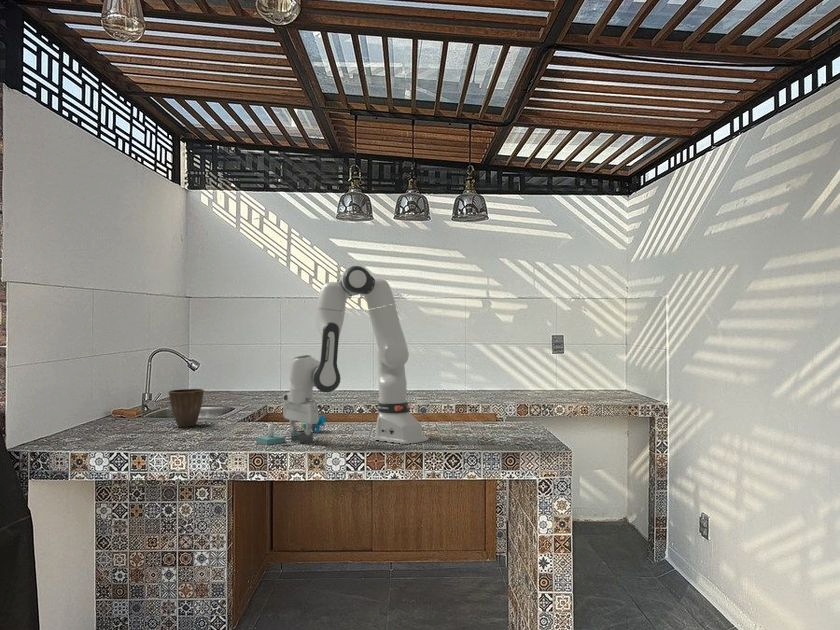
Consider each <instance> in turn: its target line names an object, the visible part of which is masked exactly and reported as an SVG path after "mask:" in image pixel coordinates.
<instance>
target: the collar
mask: <svg viewBox="0 0 840 630" xmlns="http://www.w3.org/2000/svg"><path fill="white" fill-rule="evenodd" d="M304 430H305V429H300V430H297V431H291V432H290V435H291V436H290V438H291V439H290V442H291V443H293V442H294V443H295V444H299V445H302V444H303V445H304V444H309V442H310V443H313V442H314V431H312V430H310V435H305V434H304Z"/></svg>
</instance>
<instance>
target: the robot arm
mask: <svg viewBox="0 0 840 630" xmlns="http://www.w3.org/2000/svg"><path fill="white" fill-rule="evenodd" d="M359 295H362V296H363V298H364V299H365V302H366V304H367V308H368V314H369V319H370V322H371V327H372V330H373V333H374V336H375V341H376V344H377V347H378V348H377V351H376V352H377V353H376V354H377V355H376V358H377V360H376V361H377V374H378V402H377V412H378V416H377V418H376V425H375V426H376V428H375V435H374V437H373V440H374V441H376V440H379V441H378V442H384V441H387V442H386V443H391V442H394V443H393V444H398V443H400V445H410V443H411V444H417V443H423V442H426V441H429V437H428V436H426V435H423V428H422V424H421V422H420V421H418V420H417V419H416V417H415V416H414V415H413V414H412V413H411V412H410V411H411V410H410V409H412V405H411V404H409V403H408V400H407V399H408V397H407V396H408V395H407V394H408V393H407V390H408V389H407V385H408V384H407V377H406V367H405V365H406V363H407V362H408V359H409V356H410V355H409V353H410V352H409V349H408V345H407V342H406V339H405V336H404V335H405V334H404V331H403V328H402V326H401V323H400V318H399V314H398V313H399V312H398V309H397V305H396V301H395V298H394V294H393V291H392V289H391V287H390V283H389V282H388V281H387V280H386V279H381V278H376V279H375V278H374V277H373V276H372V275H371V274H370V272H369V271H368V270H367V269H366V268H365V267H362V266H361V265H353V266H349V267H348V268H346V269H345V270H344V271H343V273H341V276H340V277H339V278H338V280H337V281H330V282H329V281H328V282H326V283H324V284H322V286H321V288H320V291H319V294H318V298H317V306H316V315H315V316H316V320H315V321H316V326H317V329H318V332H319V334H320V338H321V347H320V348H321V349H320V358H319V359H320V360H318V359H316V358H314V357H313V356H312V355H310V354H309V355H308V354H306V355H305V354H303V355H299V356H295V357H294V358H293V359H292V360H291V362H290V367H289V368H290V369H289V381H290V386H289V391H288V392H287V393H284V394H283V395H282V400H283V403H282V416H283V418H284V419H285V420H289V424H290V425H289V426H290V431H291V432H292V431H298V427H297V425H296V422H298V423H302V424H306V430H305V429H303V430H304V434H305V435H310V431H312V429H311V428H312V424H317V423H318V421H319V418H320V415H319V407H318V404H317V402H316V401H315V399H313V395H314V394H313V392H314V388H316V389H317V390H318V391H320V392H322V393H331V392H333V391H335V390H336V389H337V388H338V387H339V386H340V383H341V374H340V371H339V367H338V355H339V354H338V353H339V351H338V350H339V340H340V336H341V332H342V328H343V326H344V320H345V316H346V315H345V313H346V304H347V299H348V298H349V297H353V296H354V297H355V296H359Z"/></svg>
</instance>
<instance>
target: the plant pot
mask: <svg viewBox="0 0 840 630" xmlns="http://www.w3.org/2000/svg"><path fill="white" fill-rule="evenodd" d="M204 392H205V390H204V389H203V388H184V389H183V388H182V389H181V388H180V389H173V390H169V391H168V395H169V402H170V405H171V409H172V410H171V411H172V414H173V416H174V419H175V422H176V424H177V427H178V426H179V427H178V428H189V427H188V426H192V427H195V426H196V424H197V423H198V419H199V418H200V417H199V416H200V413H201V410H202V406H203V405H202V404H203V398H204ZM194 425H195V426H194Z"/></svg>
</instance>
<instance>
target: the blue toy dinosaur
mask: <svg viewBox="0 0 840 630" xmlns="http://www.w3.org/2000/svg"><path fill="white" fill-rule="evenodd" d="M325 423H327V417H326V416H324V415H323V414H321V415H319V421H318V423H317V424H312V428H311V431H312V432H314V431H315V430H316V432H317V433H319V434H320V433H321V431H320V429H321V426H322V427H324V426H325ZM301 427H302V429H303V428H304V429H303V430H306V423H301Z"/></svg>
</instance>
